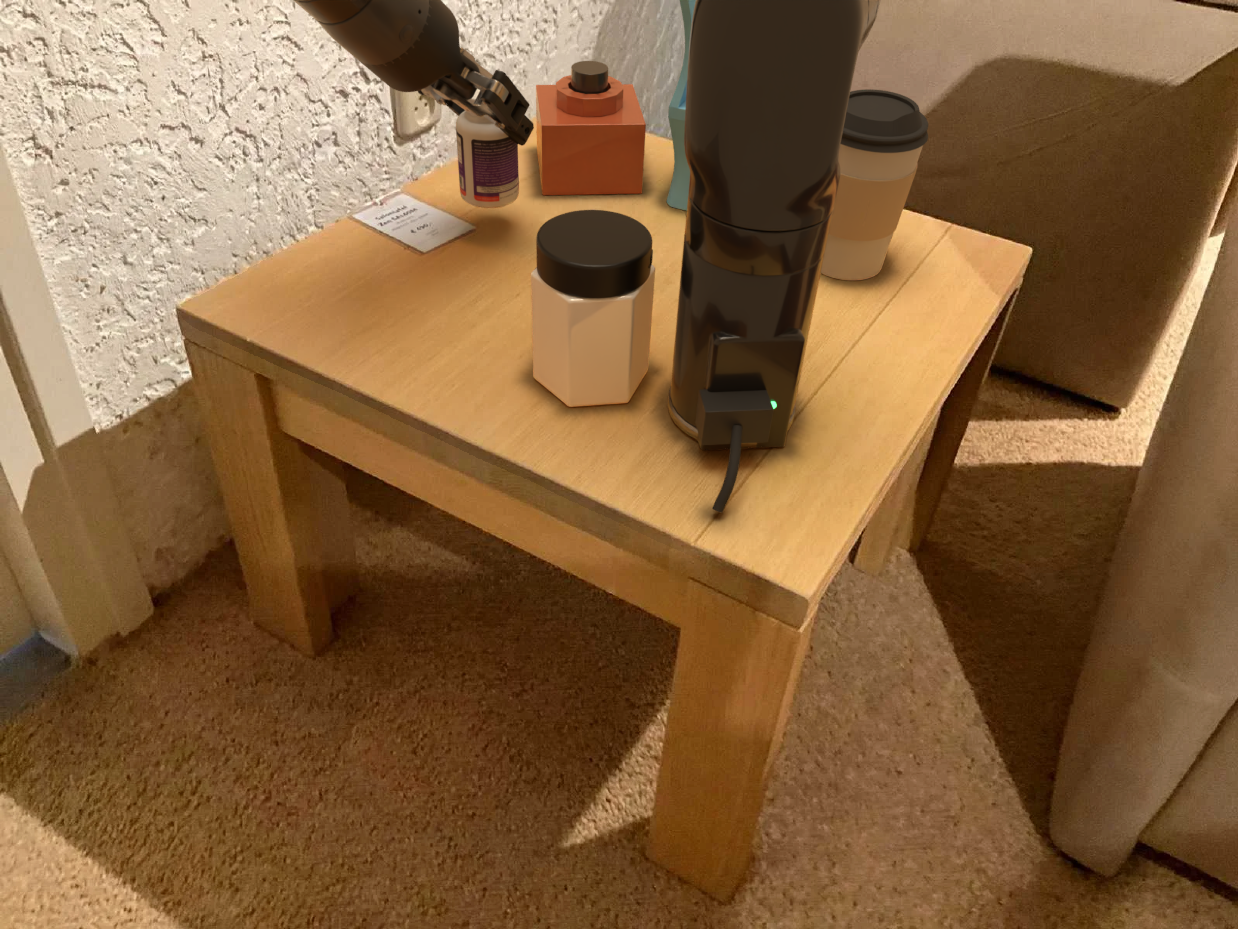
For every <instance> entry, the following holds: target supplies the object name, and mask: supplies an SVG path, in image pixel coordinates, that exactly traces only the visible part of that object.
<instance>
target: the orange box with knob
mask: <svg viewBox="0 0 1238 929" xmlns="http://www.w3.org/2000/svg"><path fill="white" fill-rule="evenodd" d="M639 102H640V101H639V99H638V96H637V93H636V90H635V87H634V84H632V83H630V84H628V83H627V84H624V83H622V81H620V80H618V79H616V78H614V77H613V76H610V75H608V91H607V92H604V93H599V94H583V93H578V92H575V91H573V90H571V74H569V75H566V76H565V75H564V76H562V77H561V78H560V79H558V80H557V81H556V82H555V84H536V85H535V106H536V108H535V112H536V113H535V114H536V115H535V117H536V118H535V119H536V120H535V122H536V124H535V125H536V155H537V161H538V162H537V164H538V169H539V170H538V171H539V178H540V186H541V193H542V196H572V195H573V196H576V195H577V196H578V195H627V194H629V195H631V194H632V195H634V194H637V195H638V194H642V193H643V182H644V165H645V164H644V163H645V147H646V146H645V145H646V130H647V123H646V121H645V118H644V115H643V111H642V108H641V105H640V103H639Z"/></svg>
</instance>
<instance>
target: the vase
mask: <svg viewBox="0 0 1238 929" xmlns="http://www.w3.org/2000/svg"><path fill="white" fill-rule="evenodd" d="M695 2H696V0H679V5H680V9H681V15H682V21H683V22H682V23H683V30H684V31H683V32H684V54H683V60H682V67H681V70H680V73H679V77H678V81H677V84H676V85H675V86H676V87H675V89H674V92H673V94H672V97H671V100H670V102H669V105H668V114H667V118H668V123H669V128H670V133H671V139H672V146H673V148H672V149H673V158H674V159H673V171H672V177H671V183H670V187H669V190H668V194H667V197H666V204H667V206H669V207H671V208H674V209H678V210H681V211H682V210H683V211H686V212H687V204H688V194H689V183H690V169H689V166H688V163H687V159H686V155H685V146H684V134H685V112H686V92H687V74H688V58H689V44H690V33H691V25H692V18H693V12H694V7H695Z"/></svg>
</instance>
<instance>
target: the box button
mask: <svg viewBox="0 0 1238 929" xmlns="http://www.w3.org/2000/svg"><path fill="white" fill-rule="evenodd" d="M570 75H571V90H573V91H575V92H578V93H583V94H599V93H604V92H607V91H608V76H609V66H608V65H607V64H605V63H603V62H600V61H596V60H581V61H577V62H574V63H573V64H571V67H570Z"/></svg>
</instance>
